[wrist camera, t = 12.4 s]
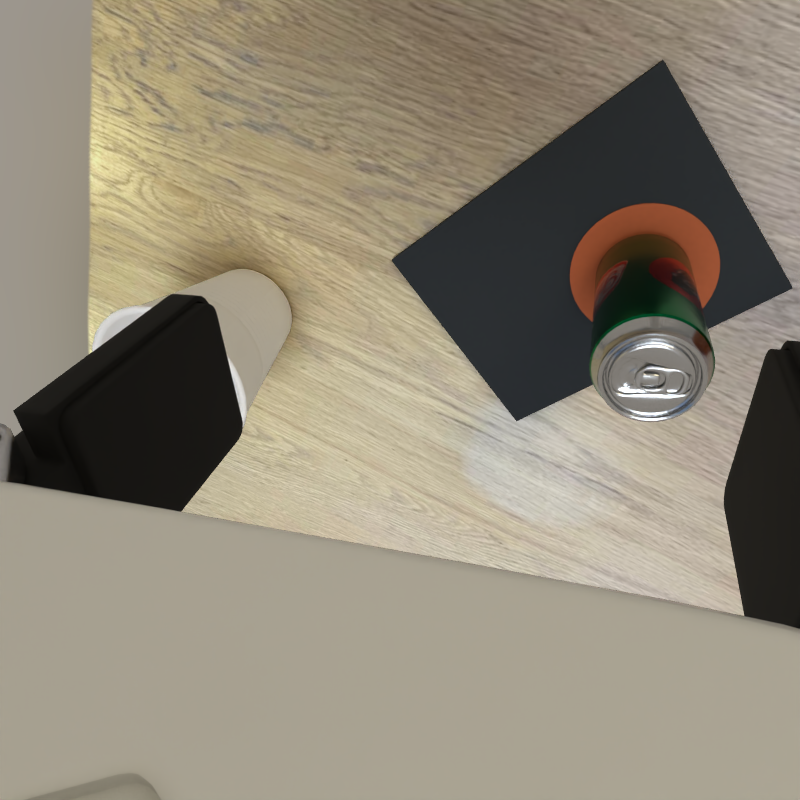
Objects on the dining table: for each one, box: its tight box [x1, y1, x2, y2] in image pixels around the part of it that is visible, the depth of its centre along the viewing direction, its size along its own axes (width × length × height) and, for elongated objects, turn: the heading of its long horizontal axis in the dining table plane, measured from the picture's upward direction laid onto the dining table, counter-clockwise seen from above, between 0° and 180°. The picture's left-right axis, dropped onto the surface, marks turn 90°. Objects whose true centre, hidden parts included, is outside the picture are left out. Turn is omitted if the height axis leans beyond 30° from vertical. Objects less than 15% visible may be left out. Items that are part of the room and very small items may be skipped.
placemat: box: [392, 60, 792, 421], centre depth 37 cm, size 18×14×1 cm
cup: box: [92, 269, 292, 427], centre depth 41 cm, size 10×10×11 cm
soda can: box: [589, 234, 715, 422], centre depth 31 cm, size 5×5×12 cm
